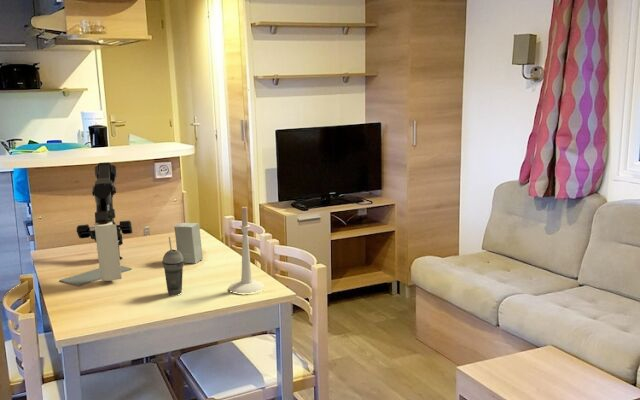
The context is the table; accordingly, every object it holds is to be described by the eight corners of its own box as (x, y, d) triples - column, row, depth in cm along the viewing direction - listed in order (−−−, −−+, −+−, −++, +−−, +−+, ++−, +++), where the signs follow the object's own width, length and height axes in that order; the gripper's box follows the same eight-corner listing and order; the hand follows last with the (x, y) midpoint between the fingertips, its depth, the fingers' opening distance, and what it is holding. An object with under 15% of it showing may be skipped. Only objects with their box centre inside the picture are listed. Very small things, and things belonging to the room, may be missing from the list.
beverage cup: (174, 298, 201) (171, 241, 197) (159, 294, 205) (156, 238, 201) (190, 292, 207) (187, 236, 203) (175, 288, 211) (172, 234, 207)
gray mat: (113, 265, 240) (113, 264, 240) (131, 269, 234) (131, 268, 234) (59, 281, 220) (59, 280, 220) (78, 286, 214) (77, 285, 214)
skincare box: (203, 260, 246) (201, 222, 243) (194, 264, 240) (192, 226, 237) (185, 258, 249) (183, 221, 246) (175, 263, 242) (173, 225, 239)
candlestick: (224, 285, 214) (221, 203, 208) (259, 281, 218) (257, 201, 213) (233, 297, 202) (230, 210, 197) (269, 292, 207) (267, 207, 201)
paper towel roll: (98, 277, 219) (91, 222, 213) (114, 273, 223) (108, 219, 217) (105, 283, 214) (98, 227, 208) (121, 279, 217) (116, 223, 212)
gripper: (73, 204, 212) (73, 243, 205) (128, 199, 216) (130, 237, 209) (79, 218, 221) (79, 256, 214) (131, 214, 226) (133, 251, 218)
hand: (105, 250), depth 214 cm, fingers closed on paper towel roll, 3 cm apart
